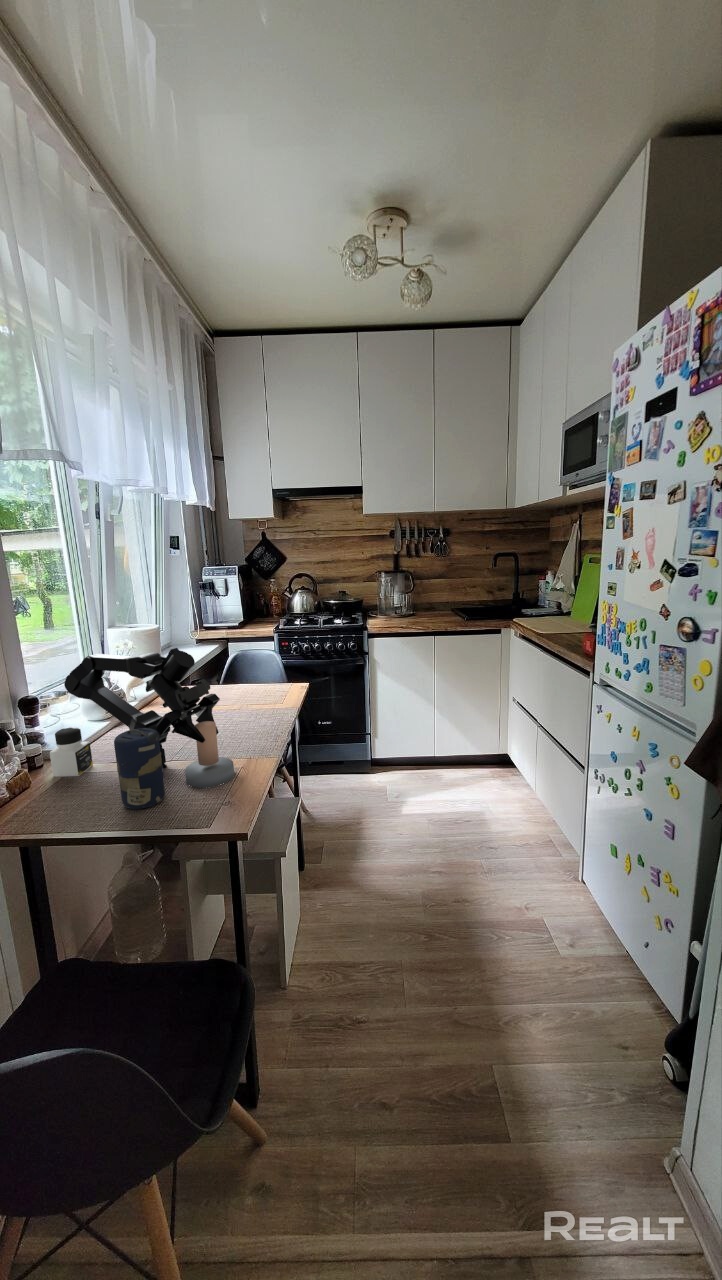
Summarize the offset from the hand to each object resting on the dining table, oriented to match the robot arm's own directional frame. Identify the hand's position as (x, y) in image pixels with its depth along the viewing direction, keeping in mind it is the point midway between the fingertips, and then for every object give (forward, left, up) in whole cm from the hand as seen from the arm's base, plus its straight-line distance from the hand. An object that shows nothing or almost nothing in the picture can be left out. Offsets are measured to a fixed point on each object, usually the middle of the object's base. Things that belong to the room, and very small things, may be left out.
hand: (210, 737), depth 129 cm
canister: (-18, +1, -11) cm, 21 cm away
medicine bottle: (-24, +34, -11) cm, 43 cm away
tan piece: (-1, +1, -7) cm, 7 cm away
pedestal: (-1, +1, -11) cm, 11 cm away
